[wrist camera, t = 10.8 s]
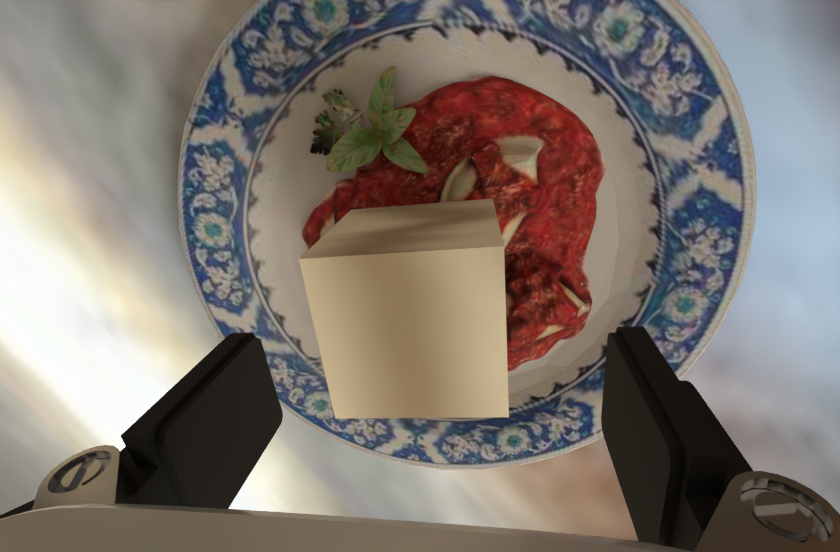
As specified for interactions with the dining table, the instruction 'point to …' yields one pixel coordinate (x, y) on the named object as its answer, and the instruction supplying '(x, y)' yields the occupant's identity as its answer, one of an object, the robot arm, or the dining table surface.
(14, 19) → the dining table surface
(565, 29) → the ceramic plate
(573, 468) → the dining table surface
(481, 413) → the maple cube
